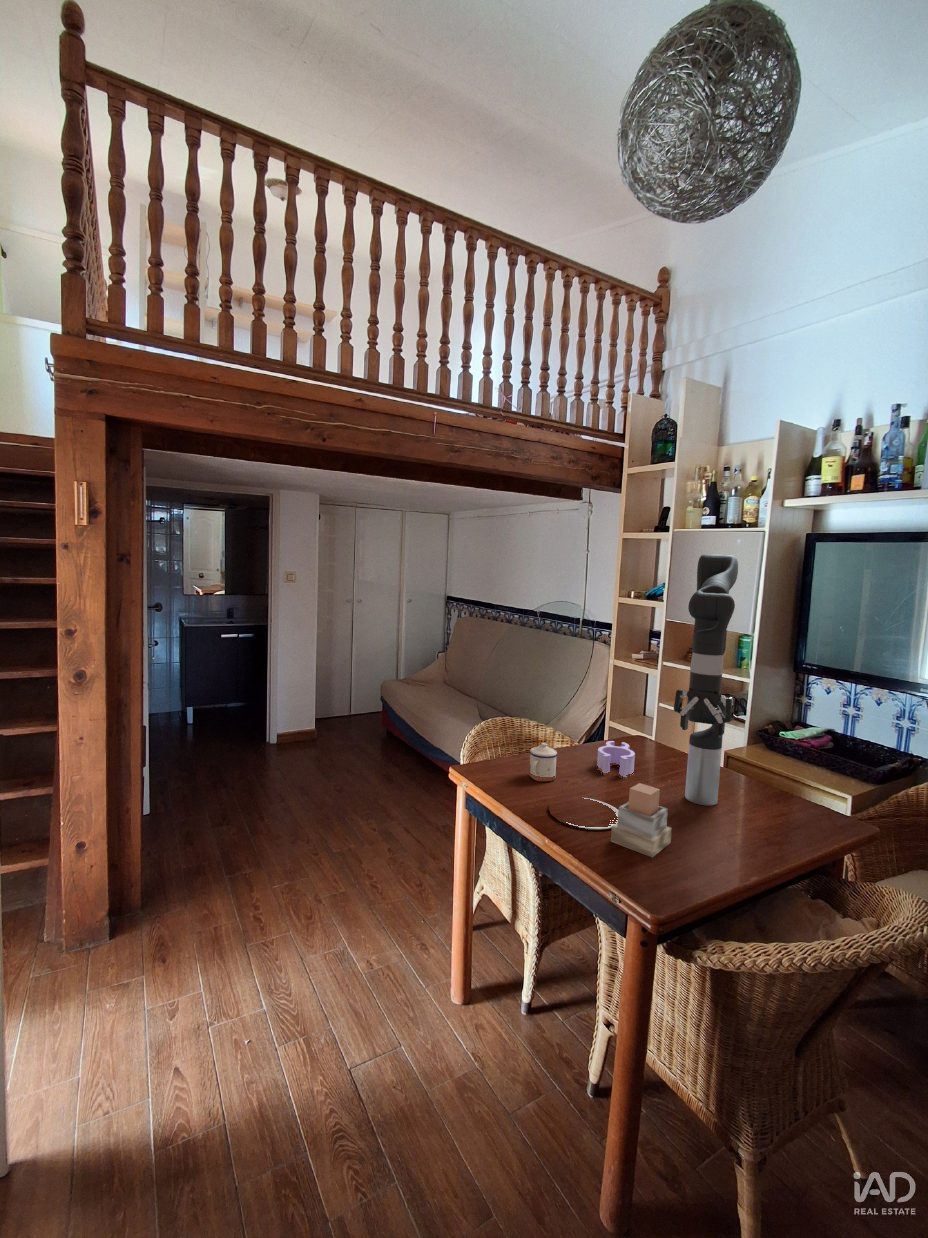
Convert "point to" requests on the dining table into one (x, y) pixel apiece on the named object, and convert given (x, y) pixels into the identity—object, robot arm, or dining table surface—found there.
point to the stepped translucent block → (642, 831)
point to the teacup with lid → (543, 761)
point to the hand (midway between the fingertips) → (701, 733)
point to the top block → (644, 799)
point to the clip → (616, 758)
